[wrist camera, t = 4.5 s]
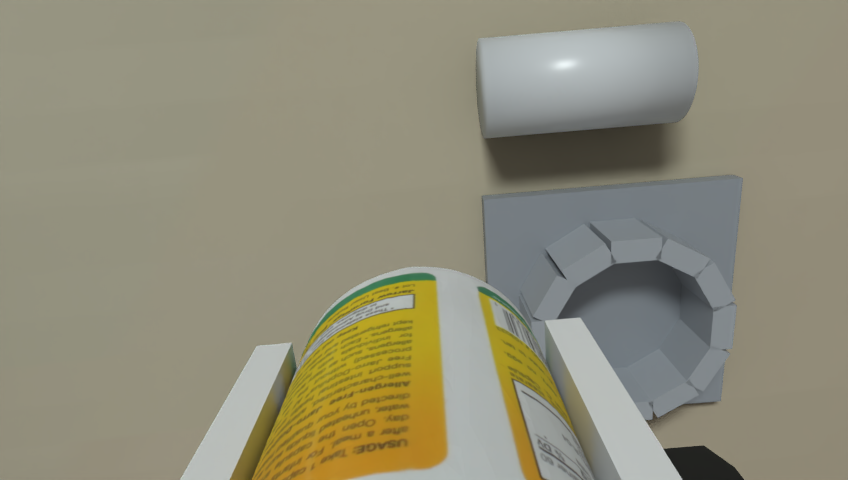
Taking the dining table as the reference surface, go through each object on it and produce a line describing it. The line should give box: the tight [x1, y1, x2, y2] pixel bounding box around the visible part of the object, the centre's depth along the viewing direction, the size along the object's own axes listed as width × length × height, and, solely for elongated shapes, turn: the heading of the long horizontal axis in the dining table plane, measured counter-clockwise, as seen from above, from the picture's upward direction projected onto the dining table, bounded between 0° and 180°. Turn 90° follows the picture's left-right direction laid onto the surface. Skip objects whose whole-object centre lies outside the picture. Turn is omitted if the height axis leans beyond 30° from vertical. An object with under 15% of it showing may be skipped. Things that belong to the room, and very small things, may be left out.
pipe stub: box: [476, 21, 698, 138], centre depth 23 cm, size 8×4×4 cm, turn 95°
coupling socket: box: [482, 175, 743, 420], centre depth 26 cm, size 12×12×4 cm
